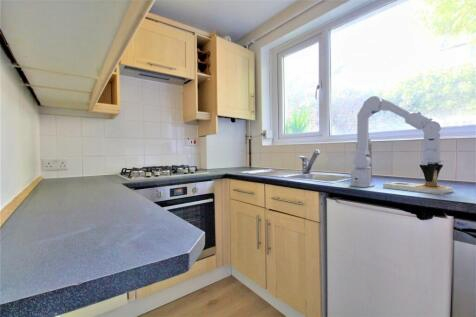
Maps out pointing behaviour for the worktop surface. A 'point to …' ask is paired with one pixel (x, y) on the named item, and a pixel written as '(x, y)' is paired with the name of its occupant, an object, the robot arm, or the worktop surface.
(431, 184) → the peg
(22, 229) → the worktop surface
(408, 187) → the rail plate
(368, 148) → the thermos bottle
